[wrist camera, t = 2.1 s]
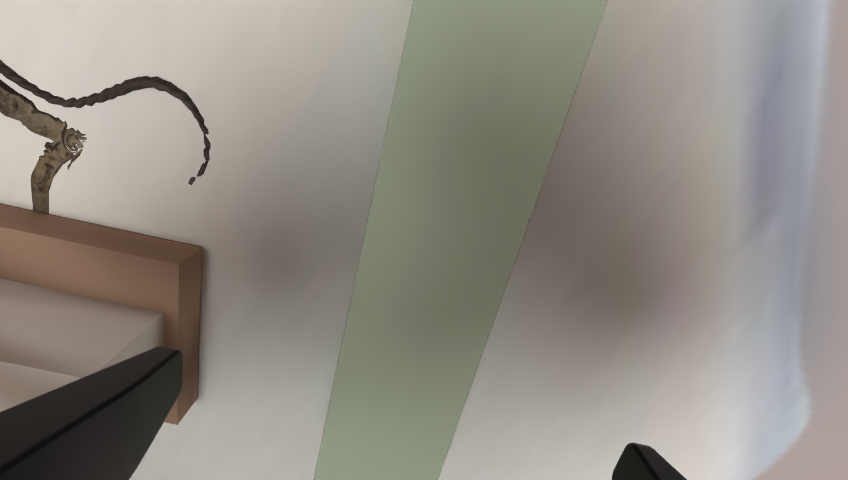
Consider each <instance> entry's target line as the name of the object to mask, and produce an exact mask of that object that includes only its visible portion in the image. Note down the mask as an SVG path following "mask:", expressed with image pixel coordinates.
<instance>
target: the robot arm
mask: <svg viewBox="0 0 848 480" xmlns="http://www.w3.org/2000/svg"><path fill="white" fill-rule="evenodd" d="M183 358H184V357H183V352H182V351H181V350H180V349H177V348H173V347H168V346H157V347H155V348H152V349H150V350H148V351H145V352H143V353H140V354H138V355H136V356H133V357H131V358H128V359H126V360H124V361H121V362H119V363H116V364H114V365H112V366H109V367H107V368H104V369H102V370H100V371H97V372H95V373H92V374H90V375H88V376H85V377H83V378H80V379H78V380H76V381H73V382H71V383H68V384H66V385H64V386H61V387H59V388H56V389H54V390H52V391H49V392H47V393H44V394H42V395H40V396H37V397H35V398H32V399H30V400H28V401H25V402H23V403H20V404H18V405H16V406H13V407H11V408H8V409H6V410H4V411H1V412H0V480H129V479H130V477H131V476H132V474H133V473H134V471H135V470H136V469H137V467H138V465H139V464H140V462H141V460H142V459H143V457H144V455H145V454H146V452H147V450H148V448H149V447H150V445H151V443H152V442H153V440H154V438H155V436H156V435H157V433H158V431H159V429H160V428H161V426H162V424H163V422H164V421H165V419H166V417H167V416H168V414H169V412H170V410H171V409H172V407H173V405H174V403H175V402H176V400H177V398H178V396H179V394H180V392H181V390H182V386H183ZM612 480H687V479H685V478H684V477H683V476H682V475H681V474H680V473H679V472H678V471H677V470H676V469H675V468H673V467H672V466H671V465H670V464H669V463H668V462H667V461H666V460H665V459H664V458H663V457H662V456H660V455H659V454H658V453H657V452H656V451H655V450H654V449H653V448H651V447H649V446H647V445H642V444H637V443H629V444H628V445H626V447H625V449H624V451H623V453H622V455H621V457H620V459H619V461H618V463H617V464H616V466H615V468H614V471H613V474H612Z"/></svg>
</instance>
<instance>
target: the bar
mask: <svg viewBox="0 0 848 480" xmlns="http://www.w3.org/2000/svg"><path fill="white" fill-rule="evenodd" d="M606 3H607V0H414V1H413V6H412V11H411V15H410V20H409V25H408V30H407V34H406V39H405V44H404V49H403V54H402V58H401V63H400V68H399V73H398V77H397V82H396V87H395V92H394V97H393V101H392V106H391V111H390V116H389V120H388V125H387V130H386V135H385V140H384V144H383V149H382V154H381V159H380V163H379V168H378V173H377V178H376V183H375V187H374V192H373V197H372V202H371V206H370V211H369V216H368V221H367V226H366V230H365V235H364V240H363V245H362V249H361V254H360V259H359V264H358V269H357V273H356V278H355V283H354V288H353V292H352V297H351V302H350V307H349V312H348V316H347V321H346V326H345V331H344V335H343V340H342V345H341V350H340V355H339V359H338V364H337V369H336V374H335V378H334V383H333V388H332V393H331V398H330V402H329V407H328V412H327V417H326V421H325V426H324V431H323V436H322V441H321V445H320V450H319V455H318V460H317V464H316V469H315V474H314V479H313V480H438V478H439V475H440V472H441V469H442V466H443V463H444V461H445V458H446V455H447V452H448V449H449V446H450V444H451V441H452V438H453V435H454V432H455V430H456V427H457V424H458V421H459V418H460V415H461V413H462V410H463V407H464V404H465V401H466V398H467V396H468V393H469V390H470V387H471V384H472V381H473V379H474V376H475V373H476V370H477V367H478V365H479V362H480V359H481V356H482V353H483V350H484V348H485V345H486V342H487V339H488V336H489V333H490V331H491V328H492V325H493V322H494V319H495V317H496V314H497V311H498V308H499V305H500V302H501V300H502V297H503V294H504V291H505V288H506V285H507V283H508V280H509V277H510V274H511V271H512V269H513V266H514V263H515V260H516V257H517V254H518V252H519V249H520V246H521V243H522V240H523V237H524V235H525V232H526V229H527V226H528V223H529V220H530V218H531V215H532V212H533V209H534V206H535V204H536V201H537V198H538V195H539V192H540V189H541V187H542V184H543V181H544V178H545V175H546V172H547V170H548V167H549V164H550V161H551V158H552V156H553V153H554V150H555V147H556V144H557V141H558V139H559V136H560V133H561V130H562V127H563V124H564V122H565V119H566V116H567V113H568V110H569V108H570V105H571V102H572V99H573V96H574V93H575V91H576V88H577V85H578V82H579V79H580V76H581V74H582V71H583V68H584V65H585V62H586V59H587V57H588V54H589V51H590V48H591V45H592V43H593V40H594V37H595V34H596V31H597V28H598V26H599V23H600V20H601V17H602V14H603V11H604V9H605V6H606Z"/></svg>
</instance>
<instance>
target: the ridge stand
mask: <svg viewBox="0 0 848 480" xmlns="http://www.w3.org/2000/svg"><path fill="white" fill-rule="evenodd" d="M201 264H202V247H198V246H194V245H189V244H184V243H180V242H175V241H170V240H166V239H161V238H156V237H152V236H147V235H142V234H138V233H133V232H128V231H124V230H119V229H114V228H110V227H105V226H101V225H96V224H91V223H87V222H82V221H77V220H73V219H68V218H63V217H59V216H54V215H49V214H45V213H40V212H35V211H31V210H26V209H21V208H17V207H12V206H7V205H3V204H0V412H1V411H4V410H6V409H8V408H11V407H13V406H16V405H18V404H20V403H23V402H25V401H28V400H30V399H32V398H35V397H37V396H40V395H42V394H44V393H47V392H49V391H52V390H54V389H56V388H59V387H61V386H64V385H66V384H68V383H71V382H73V381H76V380H78V379H80V378H83V377H85V376H88V375H90V374H92V373H95V372H97V371H100V370H102V369H104V368H107V367H109V366H112V365H114V364H116V363H119V362H121V361H124V360H126V359H128V358H131V357H133V356H136V355H138V354H140V353H143V352H145V351H148V350H150V349H152V348H155V347H157V346H168V347H173V348H177V349H180V350H181V351H182V352H183V357H184V358H183V386H182V390H181V392H180V394H179V396H178V398H177V400H176V402H175V403H174V405H173V407H172V409H171V410H170V412H169V414H168V416H167V417H166V419H165V421H164V422H167V423H171V424H176V425H178V423H179V422H180V421H181V419H182V418H183V417H184V415H185V414H186V413H187V411H188V410H189V409H190V407H191V406H192V405H193V403H194V402H195V401H196V399H197V398H198V367H199V333H200V298H201Z"/></svg>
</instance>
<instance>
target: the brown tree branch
mask: <svg viewBox="0 0 848 480" xmlns="http://www.w3.org/2000/svg"><path fill="white" fill-rule="evenodd" d="M0 73H2V74H3V75H4V76H5V77H6V78H7V79H9V80H11V81H13V82H15V83H16V84H18V85H19V86H20V87H22V88H24V89H26V90H29V91H31V92H32V93H33V94H34V95H35V96H38V97H41V98H43V99H45V100H46V101H47V102H49V103H52V104H58V105H62V106H63V107H77V108H81V107H83V106H84V105H89V106H93V104H95V103H96V102H97V103H100V102H105V101H107V100H110V99H114V98H116V97H117V96H122V95H125V94H127V93H129V92H131V91H133V90H139V89H143V88H153V87H154V88H156V89H157V90H159V91H166V92H168V93H169V94H171V95H172V96H174V97H176V98H178V99H180V100H181V101H182V102H183V103H184V104H185V105H186V107H187V108H188V109H189V110H191V111H192V113H193V115H194V117H195V118H196V120H197V121H198V122H199V126H200V128H201V130H202V131H203V133H204V143H205V146H206V148H205V149H204V157H205V159H206V162H205V164H204V163H203V164H202V166H201V168H200V170H199V172H198V175H197V177H198V176H201V175H203V174H204V171H205V169H206V166H207V164H208V161H209V150H210V142H209V140H208V138H207V137H206V135H205V134H209V133H208V129H207V128H206V126H205V125H204V119H203V117H202V116H201V114H200V113H199V110H198V109H197V107H196V105H195V104H194V103H193V101H192V100H191V98H190V97H189V96H188V94H187V93H185V92H184V91H182V90H181V89H179V88H178V87H176V86H175V85H174V84H172V83H171V82H168V81H166V80H163V79H161V78H159V77H148V76H143V77H136V78H133V79H129V80H125V81H124V82H123V83H122V84H116V85H114V86H113V87H111V88H106V89H104V90H103V91H102V92H101V93H94V94H92V95H90V96H88V97H82V98H79V99H78V100H77V99H75V98H70V99H68V100H64V99H63V98H61V97H57V96H53V95H52V94H51V93H49V92H46V91H43V90H40V89H39V88H38V87H37V86H36V85H34V84H32V83H30V82H28V81H27V80H26V79H24V78H23V77H21V76H19V75H18V74H17V73H16V72H15V71H13V70H12V69H11V68H10V67H8V66H7V65H5V64H4V63H3V62H2V61H1V60H0ZM0 112H1V113H2V114H4V115H5V116H8V117H11V118H13V119H16V120H20V121H21V122H22V124H23V125H24V126H25V125H26V127H27V128H28V129H29V130H31V131H32V132H34V133H36V134H39V135H41V136H44V137H47V138H50V139H51V140H53V141H54V142H53V143H49V142H47V143H46V144H45V148H46V150H44V155H43V156H40V157H39V160H38V163H37V165H36V167H35V169H34V171H33V173H32V175H31V190H32V202H33V211H35V212H40V213H45V214H49V189H50V186H51V183H52V180H53V177H54V176H55V174H56V173H57V172H58V170H59V169H60V167H61V166H62V165H63V164H65V163H66V162H67V161H69V160H70V159H72V160H71V163H72V162H73V161H74V160H75V159H77V158H78V157H79V156H80V154H81V152H82V150H83V149H81V150H80V151H79V152H77V153H76V152H74V153H76V154H75V155H73V152H70V151H77V150H78V147H79V148H82V147H84V146H83V145H82V143H81V142H80V140H86V139H87V138H85V137H81V136H84V135H86V134H81V133H80V132H79V131H78V130H77V132H76V131H75V130H74V129H73V128H70V129H67V123H66V121H65V122H62V121H61V120H60V119H59V118H58V117H57V118H55V117H54V116H52V115H50V114H48V113H45V112H42V111H39V110H38V109H37V108H36V106H35V105H34V103H33V102H32V101H31V100H29V99H27V98H26V97H25V96H23V95H22V94H19V93H18V92H16V91H15V90H14V89H12V88H11V87H9V86H8V85H7V84H6V83H4V82H3V81H2V80H0ZM66 129H67V130H66ZM75 134H76V135H75ZM78 138H79V139H80V140H79V139H78ZM82 142H85V141H82ZM64 143H65V144H64ZM75 144H77V145H78V147H77V146H76V145H75ZM83 144H84V143H83ZM65 145H66V146H67V147H68V148H69V150H70V151H69V150H68V149H67V147H66V146H65ZM72 147H74V148H75V149H76V150H74V149H73V148H72ZM71 163H70V164H69V165H68V166H67V167H68V169H69V167H70V165H71ZM195 179H196V177H192V178H191V179H190V180H189V184H190V185H192V184H193V182H194V181H195Z"/></svg>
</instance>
